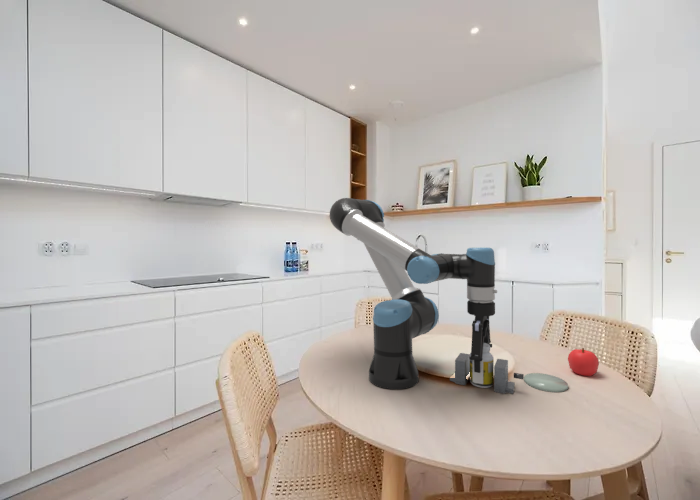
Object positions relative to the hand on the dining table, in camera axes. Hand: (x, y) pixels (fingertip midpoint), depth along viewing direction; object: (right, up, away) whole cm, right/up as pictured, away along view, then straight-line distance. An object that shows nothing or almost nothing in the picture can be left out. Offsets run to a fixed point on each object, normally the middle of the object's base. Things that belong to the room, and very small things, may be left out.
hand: (481, 375), depth 96 cm
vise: (+1, -2, -1) cm, 3 cm away
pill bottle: (0, -3, 0) cm, 3 cm away
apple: (+34, -2, +6) cm, 35 cm away
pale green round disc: (+18, -2, -1) cm, 19 cm away
